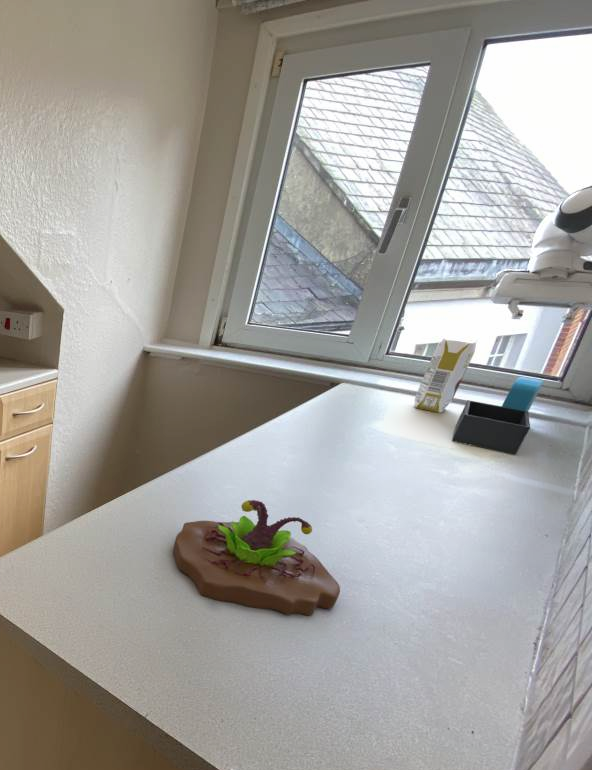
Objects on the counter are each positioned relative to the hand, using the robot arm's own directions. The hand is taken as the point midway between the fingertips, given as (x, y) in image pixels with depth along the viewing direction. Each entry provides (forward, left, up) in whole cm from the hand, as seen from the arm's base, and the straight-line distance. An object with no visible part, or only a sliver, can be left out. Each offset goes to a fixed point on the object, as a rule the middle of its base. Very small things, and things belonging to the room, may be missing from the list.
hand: (541, 320), depth 136 cm
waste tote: (+1, +25, -25) cm, 36 cm away
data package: (-3, +8, -26) cm, 27 cm away
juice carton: (+13, +4, -26) cm, 29 cm away
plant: (+25, +126, -26) cm, 132 cm away
